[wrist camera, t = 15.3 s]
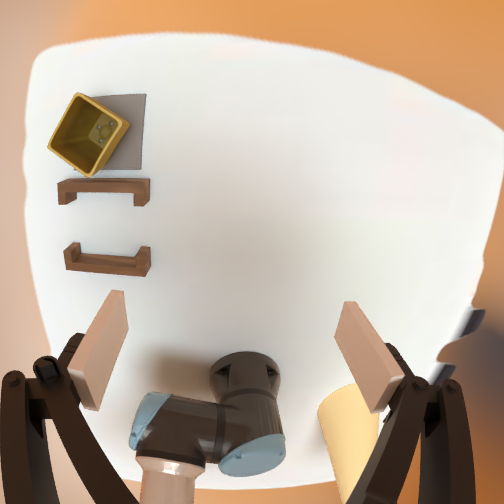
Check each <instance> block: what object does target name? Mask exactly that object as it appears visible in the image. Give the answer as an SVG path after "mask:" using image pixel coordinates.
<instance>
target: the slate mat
mask: <svg viewBox="0 0 504 504" xmlns="http://www.w3.org/2000/svg"><path fill="white" fill-rule="evenodd" d="M91 98H93V99H95V100H96V101H98V102H99V103H101V104H102V105H103V106H105V107H106V108H108V109H109V110H111V111H112V112H114V113H115V114H117V115H118V116H120V117H122V118H123V119H125V120H126V121H128V122H129V128H128V129H127V131H126V132H125V134H124V135H123V137H122V138H121V140H120V141H119V143H118V144H117V146H116V148H115V149H114V151H113V153H112V154H111V156H110V158H109V160H108V161H107V163H106V164H105V166H104V167H103V168H102V169H101V170H141V161H142V141H143V126H144V114H145V103H146V94H127V95H112V96H100V97H91ZM110 125H113V122H110ZM97 128H98V129H100V126H98V127H97ZM99 141H100V142H102V139H100V140H99ZM74 170H76V169H75V168H74Z"/></svg>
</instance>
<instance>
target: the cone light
mask: <svg viewBox="0 0 504 504" xmlns="http://www.w3.org/2000/svg"><path fill="white" fill-rule="evenodd" d="M318 417H319V421H320V424H321V428H322V431H323V435H324V438H325V442H326V445H327V449H328V452H329V456H330V460H331V463H332V467H333V470H334V474H335V478H336V481H337V485H338V488H339V492H340V496H341V500H342V504H346V502H347V500H348V498H349V497H350V495H351V493H352V491H353V489H354V487H355V486H356V484H357V482H358V480H359V478H360V476H361V474H362V472H363V470H364V468H365V466H366V464H367V462H368V460H369V458H370V455H371V453H372V451H373V449H374V447H375V444H376V442H377V440H378V429H379V413H374V414H371V413H370V411H369V409H368V407H367V404H366V402H365V400H364V398H363V396H362V394H361V392H360V390H359V387H358V385H357V383H353V384H350V385H347V386H344V387H342V388H340V389H338V390H337V391H335V392H333V393H332V394H330V395H329V396H328V397H327V398H326V399H325V400H324V401H323V402H322V403H321V405H320V406H319V408H318Z"/></svg>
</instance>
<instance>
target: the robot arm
mask: <svg viewBox="0 0 504 504" xmlns="http://www.w3.org/2000/svg"><path fill="white" fill-rule="evenodd" d="M127 332H128V322H127V315H126V308H125V300H124V292H123V291H117V290H111V291H110V293H109V295H108V296H107V298H106V300H105V301H104V303H103V305H102V306H101V308H100V310H99V311H98V313H97V315H96V316H95V318H94V320H93V322H92V323H91V325H90V327H89V329H88V330H87V332H86V334H82V333H76V334H75V335H73V336H72V337H71V338H70V339H69V341H68V343H67V344H66V346H65V348H64V349H63V351H62V353H61V355H60V356H59V358H58V360H57V359H56V358H55V357H53V356H44V357H41V358H39V359H37V360H36V361H35V362H34V365H33V371H34V373H35V375H36V377H37V378H28V379H27V378H25V376H24V374H23V373H22V372H20V371H15V370H14V371H10V372H8V373H7V374H6V375H5V376H4V377H3V380H2V389H1V403H0V456H1V471H2V481H3V489H4V496H5V503H6V504H60V502H59V498H58V495H57V490H56V486H55V481H54V477H53V472H52V467H51V461H50V455H49V449H48V442H47V434H46V426H45V419H52V420H53V422H54V424H55V427H56V429H57V431H58V434H59V436H60V438H61V440H62V443H63V445H64V447H65V449H66V451H67V453H68V455H69V457H70V459H71V461H72V463H73V465H74V467H75V469H76V471H77V473H78V475H79V476H80V478H81V480H82V482H83V483H84V485H85V487H86V489H87V490H88V492H89V494H90V495H91V497H92V498H93V500H94V502H95V503H96V504H194V489H195V479H196V478H197V477H198V476H199V475H201V474H202V473H203V472H205V464H206V463H214V464H218V467H219V469H220V471H221V472H222V473H223V474H227V475H229V476H233V477H246V476H253V475H258V474H261V473H264V472H267V471H269V470H272V469H273V468H275V467H277V466H278V465H279V464H280V463H281V462H282V461H283V460H284V458H285V455H286V448H285V436H284V434H283V430H282V425H281V420H280V415H279V410H278V406H277V401H276V399H277V395H278V390H279V386H280V374H279V369H278V367H277V365H276V363H275V362H274V361H273V360H272V359H270V358H269V357H267V356H265V355H262V354H259V353H254V352H239V353H234V354H231V355H228V356H225V357H223V358H222V359H220V360H219V361H218V362H216V363H215V364H214V366H213V367H212V369H211V372H210V387H211V390H212V392H213V395H214V397H215V399H216V401H217V403H212V402H206V401H200V400H195V399H190V398H185V397H180V396H175V395H173V394H164V393H158V392H149V393H147V394H146V395H145V396H144V397H143V399H142V401H141V403H140V405H139V407H138V410H137V413H136V416H135V419H134V422H133V425H132V431H131V434H130V438H129V446H130V448H132V449H133V450H135V451H136V450H137V451H136V458H135V459H136V461H137V462H138V463H139V465H140V466H141V467H142V469H143V476H142V485H141V493H140V502H138V501H137V500H136V498H135V497H134V496H133V495H132V493H131V492H130V490H129V489H128V488H127V486H126V485H125V484H124V482H123V481H122V479H121V478H120V476H119V475H118V474H117V472H116V471H115V469H114V468H113V466H112V465H111V463H110V461H109V460H108V458H107V457H106V455H105V454H104V452H103V450H102V449H101V447H100V445H99V444H98V442H97V440H96V439H95V437H94V435H93V433H92V432H91V430H90V428H89V426H88V424H87V422H86V420H85V419H84V417H83V415H82V413H81V411H80V409H79V404H80V402H81V403H82V405H83V407H84V408H85V409H89V410H94V411H99V408H100V405H101V402H102V399H103V396H104V393H105V390H106V387H107V384H108V382H109V379H110V376H111V373H112V371H113V368H114V365H115V363H116V360H117V357H118V355H119V352H120V350H121V347H122V344H123V342H124V339H125V337H126V334H127ZM334 338H335V340H336V342H337V344H338V346H339V348H340V350H341V352H342V354H343V356H344V358H345V360H346V362H347V364H348V366H349V369H350V371H351V373H352V375H353V377H354V379H355V381H356V383H357V385H358V387H359V390H360V392H361V394H362V396H363V398H364V400H365V402H366V404H367V407H368V409H369V411H370V413H371V414H374V413H379V412H384V410H385V408H386V407H387V405H389V407H390V409H391V410H390V411H389V413H388V415H387V416H386V418H385V419H384V421H383V423H384V425H383V428H382V430H381V433H380V435H379V438H378V440H377V442H376V444H375V447H374V449H373V451H372V453H371V455H370V458H369V460H368V462H367V464H366V466H365V468H364V470H363V472H362V474H361V476H360V478H359V480H358V482H357V484H356V486H355V487H354V489H353V491H352V493H351V495H350V497H349V498H348V500H347V502H346V504H397V499H398V497H399V495H400V492H401V490H402V487H403V484H404V482H405V479H406V476H407V473H408V471H409V468H410V465H411V462H412V458H413V455H414V452H415V449H416V445H417V442H418V438H419V435H420V431H421V462H420V485H419V498H418V504H476V491H475V474H474V462H473V452H472V444H471V437H470V430H469V424H468V418H467V412H466V407H465V402H464V397H463V393H462V388H461V386H460V385H459V383H458V382H456V381H455V380H452V379H445V380H444V381H443V382H442V383H441V385H440V386H437V385H429V383H428V382H427V381H426V380H425V379H423V378H422V377H418V376H415V375H414V374H413V372H412V371H411V369H410V368H409V366H408V365H407V364H406V362H405V361H404V360H403V358H402V356H400V353H399V352H398V350H397V349H396V348H395V347H394V346H393V345H391V344H390V343H384V342H383V341H382V339H381V338H380V336H379V335H378V333H377V332H376V330H375V329H374V327H373V326H372V324H371V323H370V322H369V320H368V319H367V317H366V316H365V314H364V313H363V311H362V310H361V309H360V307H359V306H358V304H357V303H356V302H344V306H343V309H342V313H341V316H340V320H339V323H338V326H337V329H336V333H335V336H334Z"/></svg>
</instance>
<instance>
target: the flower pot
mask: <svg viewBox="0 0 504 504" xmlns="http://www.w3.org/2000/svg"><path fill="white" fill-rule="evenodd" d="M110 122H113V125H110ZM98 126H100V129H98V128H97V127H98ZM128 128H129V122H128V121H126V120H125V119H123V118H122V117H120V116H118V115H117V114H115V113H114V112H112V111H111V110H109V109H108V108H106V107H105V106H103V105H102V104H101V103H99V102H98V101H96V100H95V99H93V98H91V97H89V96H86V95H84V94H82V93H79V92H78V93H76V94H75V95H74V96H73V98H72V100H71V102H70V103H69V105H68V107H67V109H66V111H65V113H64V114H63V116H62V118H61V120H60V122H59V124H58V126H57V127H56V129H55V131H54V133H53V135H52V137H51V139H50V141H49V143H48V146H47V148H48V149H49V150H50V151H52V152H53V153H55V154H56V155H57V156H59V157H60V158H61V159H63V160H64V161H65V162H67V163H68V164H70V165H71V166H72V167H74V168H75V169H76V170H78V171H79V172H80V173H82V174H83V175H84V176H86V177H88V178H90V177H91V176H93V175H94V174H95V173H97V172H98V171H99V170H101V169H102V168H103V167H104V166H105V164H106V163H107V161H108V160H109V158H110V156H111V154H112V153H113V151H114V149H115V148H116V146H117V144H118V143H119V141H120V140H121V138H122V137H123V135H124V134H125V132H126V131H127V129H128ZM100 139H102V142H100V141H99V140H100Z"/></svg>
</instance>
